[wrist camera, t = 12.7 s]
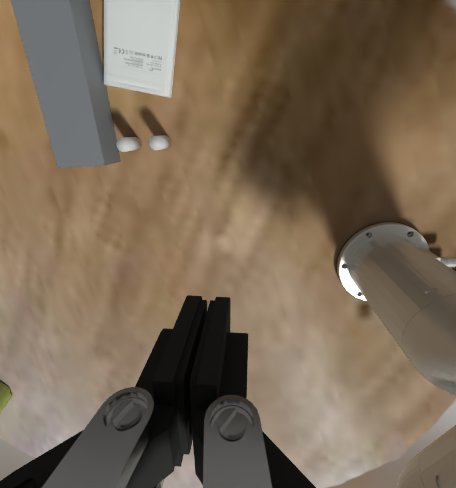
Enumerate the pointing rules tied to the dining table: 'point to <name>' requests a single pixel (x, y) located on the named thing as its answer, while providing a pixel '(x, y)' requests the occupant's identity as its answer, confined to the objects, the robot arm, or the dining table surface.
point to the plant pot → (4, 395)
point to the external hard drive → (140, 44)
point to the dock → (72, 82)
